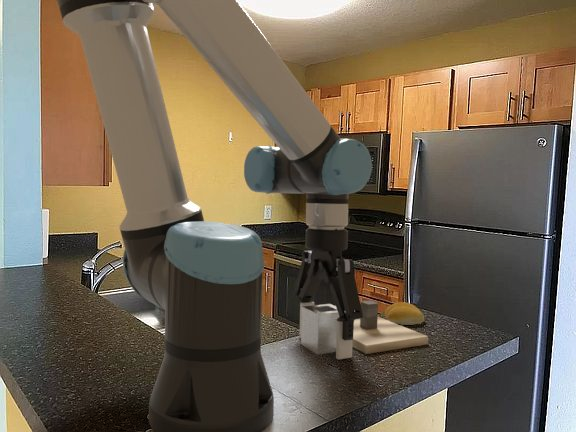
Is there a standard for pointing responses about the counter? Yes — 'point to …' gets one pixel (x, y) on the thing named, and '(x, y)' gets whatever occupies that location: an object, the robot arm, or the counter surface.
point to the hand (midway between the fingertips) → (324, 346)
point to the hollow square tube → (319, 328)
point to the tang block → (382, 332)
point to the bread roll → (404, 314)
